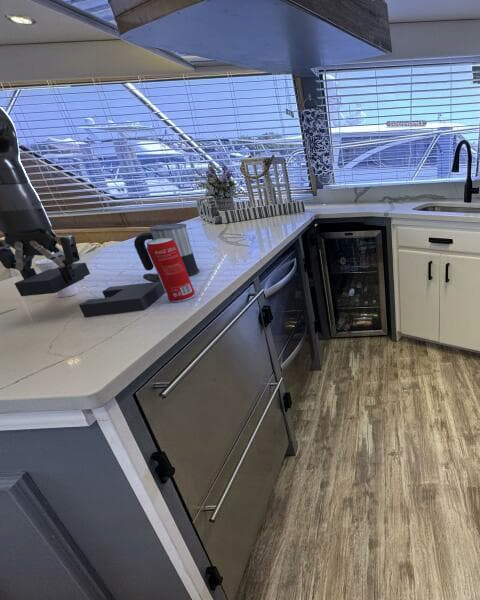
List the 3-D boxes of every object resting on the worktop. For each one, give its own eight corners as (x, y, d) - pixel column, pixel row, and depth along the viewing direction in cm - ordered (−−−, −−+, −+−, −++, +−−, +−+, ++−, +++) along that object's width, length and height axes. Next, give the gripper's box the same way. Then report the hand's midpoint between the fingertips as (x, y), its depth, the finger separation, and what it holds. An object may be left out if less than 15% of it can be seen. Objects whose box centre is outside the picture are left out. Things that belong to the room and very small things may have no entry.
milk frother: (197, 267, 105) (183, 221, 99) (207, 278, 94) (192, 228, 88) (144, 277, 97) (125, 228, 91) (148, 291, 86) (127, 236, 80)
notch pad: (84, 317, 72) (78, 305, 71) (114, 297, 83) (109, 286, 82) (144, 310, 74) (140, 298, 73) (166, 291, 85) (162, 281, 84)
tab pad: (55, 293, 69) (48, 280, 68) (21, 296, 68) (13, 283, 67) (94, 273, 82) (89, 262, 80) (66, 275, 80) (61, 264, 79)
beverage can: (200, 293, 83) (182, 235, 77) (185, 303, 77) (165, 242, 71) (177, 294, 83) (157, 236, 77) (160, 304, 77) (138, 243, 71)
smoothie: (45, 298, 84) (18, 246, 78) (73, 289, 90) (50, 240, 84) (63, 299, 83) (37, 246, 77) (90, 290, 88) (67, 240, 83)
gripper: (-47, 211, 61) (-1, 293, 68) (44, 207, 64) (80, 285, 71) (-11, 207, 68) (28, 281, 74) (70, 203, 71) (100, 275, 77)
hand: (53, 283), depth 73 cm, fingers closed on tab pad, 6 cm apart
